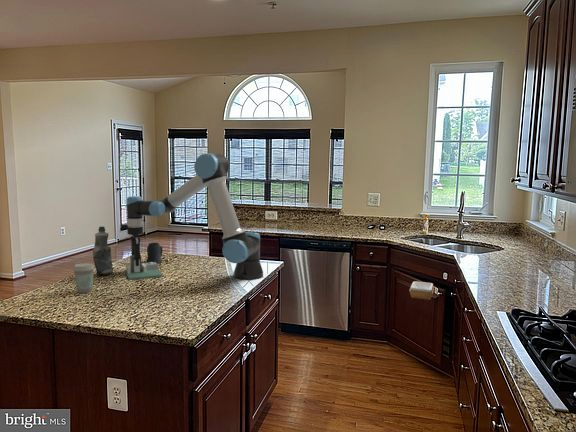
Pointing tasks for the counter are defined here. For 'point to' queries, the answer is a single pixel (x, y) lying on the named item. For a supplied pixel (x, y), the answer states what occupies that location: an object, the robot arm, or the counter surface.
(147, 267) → the fan
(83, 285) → the coffee cup
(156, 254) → the mug
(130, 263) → the plug
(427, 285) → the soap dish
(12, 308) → the counter surface
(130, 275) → the translucent green tray
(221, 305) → the counter surface
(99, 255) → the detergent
